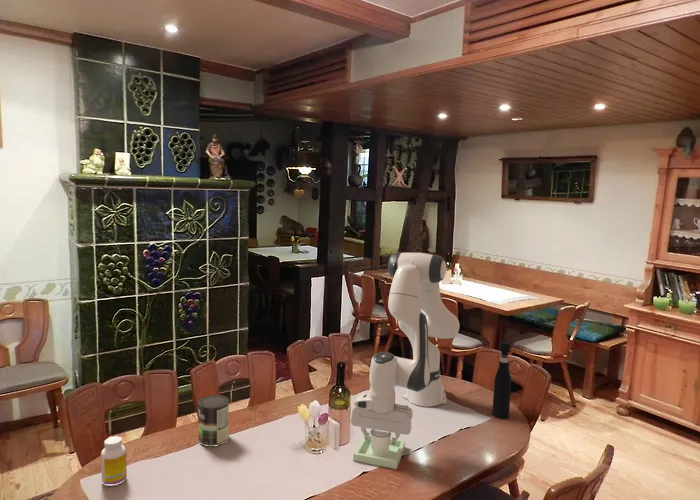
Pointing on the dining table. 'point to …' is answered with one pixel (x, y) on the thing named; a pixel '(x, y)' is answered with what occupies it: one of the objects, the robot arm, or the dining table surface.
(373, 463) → the tray
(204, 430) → the coffee can
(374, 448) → the shot glass
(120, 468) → the supplement bottle
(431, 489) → the dining table surface
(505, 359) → the wine bottle
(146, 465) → the dining table surface
